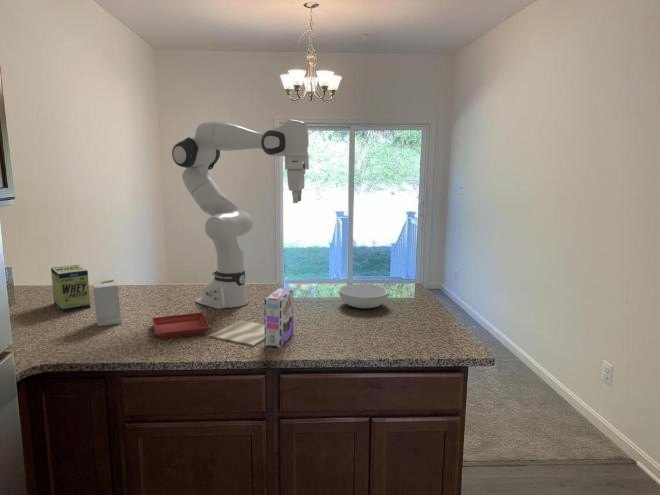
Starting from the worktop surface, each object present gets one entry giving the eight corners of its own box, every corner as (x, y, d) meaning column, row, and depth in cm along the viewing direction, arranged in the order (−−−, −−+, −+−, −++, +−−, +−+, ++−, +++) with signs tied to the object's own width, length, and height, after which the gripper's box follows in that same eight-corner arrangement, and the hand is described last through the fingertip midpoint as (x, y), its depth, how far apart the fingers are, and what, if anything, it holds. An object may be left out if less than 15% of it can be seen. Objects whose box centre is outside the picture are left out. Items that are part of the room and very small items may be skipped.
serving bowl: (331, 309, 195) (331, 293, 194) (348, 296, 214) (348, 281, 213) (379, 315, 188) (380, 299, 186) (392, 302, 207) (393, 287, 205)
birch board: (209, 337, 161) (209, 335, 161) (241, 321, 177) (241, 320, 177) (253, 346, 154) (253, 344, 154) (282, 329, 170) (282, 327, 170)
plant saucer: (151, 325, 172) (151, 317, 172) (202, 320, 180) (201, 311, 179) (155, 342, 156) (155, 333, 156) (210, 335, 164) (210, 326, 163)
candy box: (281, 348, 152) (280, 299, 150) (263, 346, 154) (263, 297, 151) (294, 333, 166) (294, 288, 163) (278, 332, 167) (278, 287, 164)
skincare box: (120, 319, 178) (118, 281, 175) (121, 324, 172) (119, 284, 170) (96, 322, 174) (93, 283, 172) (96, 327, 169) (93, 287, 166)
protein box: (62, 312, 184) (59, 274, 182) (53, 303, 196) (50, 267, 193) (91, 307, 191) (88, 270, 188) (80, 299, 203) (78, 264, 200)
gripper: (291, 165, 184) (292, 200, 187) (284, 164, 164) (285, 204, 166) (307, 165, 184) (308, 200, 186) (302, 164, 164) (302, 204, 166)
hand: (297, 202), depth 176 cm, fingers open, 8 cm apart
